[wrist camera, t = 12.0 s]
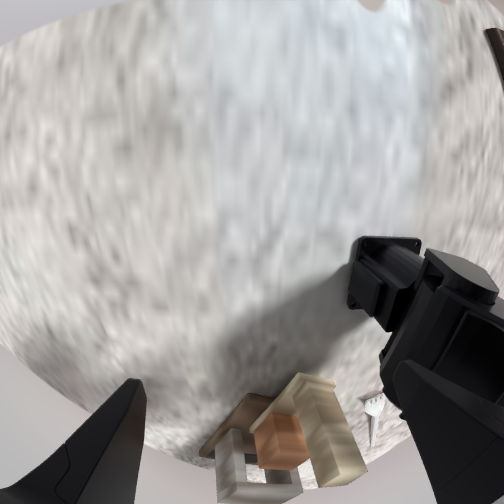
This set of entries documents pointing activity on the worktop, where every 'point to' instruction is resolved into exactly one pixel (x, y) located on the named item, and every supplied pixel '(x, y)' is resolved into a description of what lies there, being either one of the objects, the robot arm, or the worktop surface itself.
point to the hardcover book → (497, 45)
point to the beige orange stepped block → (308, 433)
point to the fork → (374, 413)
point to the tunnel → (246, 460)
